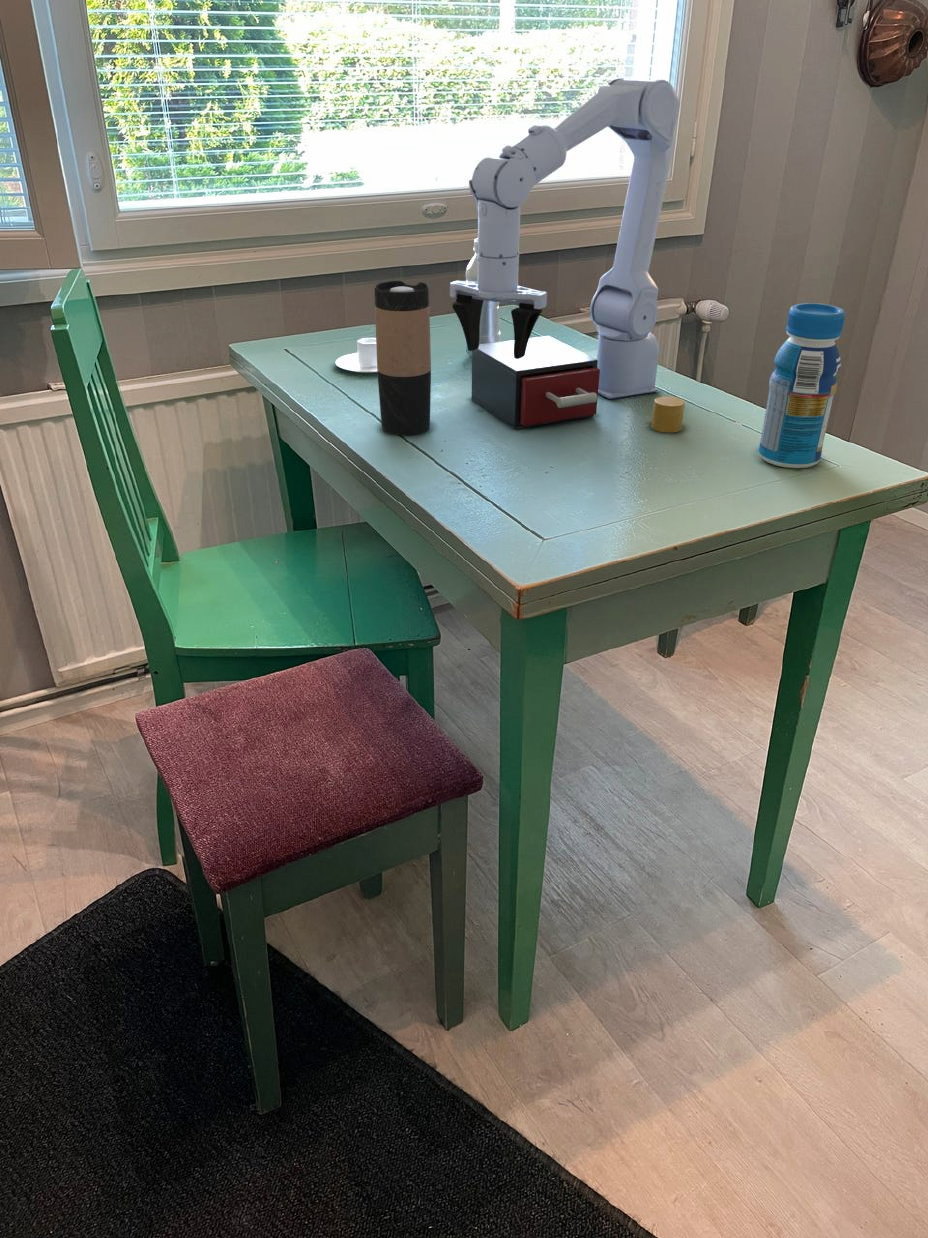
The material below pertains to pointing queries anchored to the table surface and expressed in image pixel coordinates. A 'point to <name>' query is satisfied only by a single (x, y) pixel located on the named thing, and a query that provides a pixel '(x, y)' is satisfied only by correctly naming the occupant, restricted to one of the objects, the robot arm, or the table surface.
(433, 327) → the table surface
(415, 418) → the travel mug
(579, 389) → the drawer
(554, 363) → the charcoal grey case
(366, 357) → the candle holder
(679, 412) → the yellow cylinder
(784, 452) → the beverage bottle
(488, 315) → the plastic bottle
